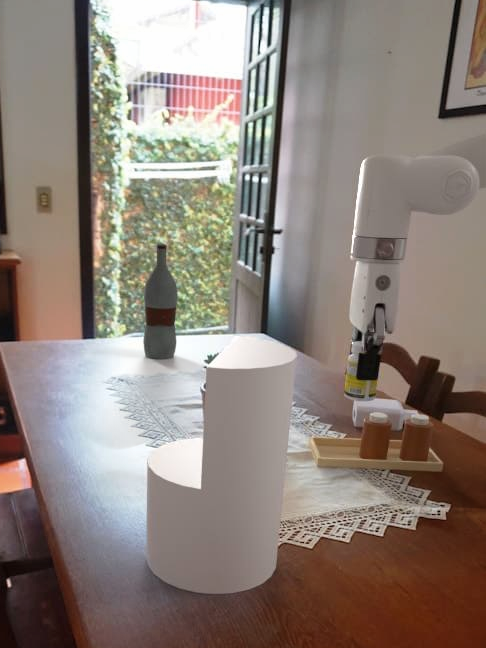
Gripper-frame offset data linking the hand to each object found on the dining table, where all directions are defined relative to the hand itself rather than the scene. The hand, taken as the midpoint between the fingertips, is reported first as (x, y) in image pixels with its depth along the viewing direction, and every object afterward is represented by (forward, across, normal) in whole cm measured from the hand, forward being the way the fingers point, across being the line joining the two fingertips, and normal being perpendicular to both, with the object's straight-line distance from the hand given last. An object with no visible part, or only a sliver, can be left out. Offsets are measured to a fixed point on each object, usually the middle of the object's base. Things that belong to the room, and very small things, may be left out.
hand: (362, 373), depth 104 cm
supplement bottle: (+4, 0, 0) cm, 4 cm away
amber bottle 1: (+20, +15, -8) cm, 26 cm away
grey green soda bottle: (+20, +89, +35) cm, 98 cm away
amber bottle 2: (+20, +15, -15) cm, 29 cm away
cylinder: (+20, -22, +23) cm, 38 cm away
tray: (+20, +15, -8) cm, 26 cm away
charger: (+20, +35, -16) cm, 44 cm away
